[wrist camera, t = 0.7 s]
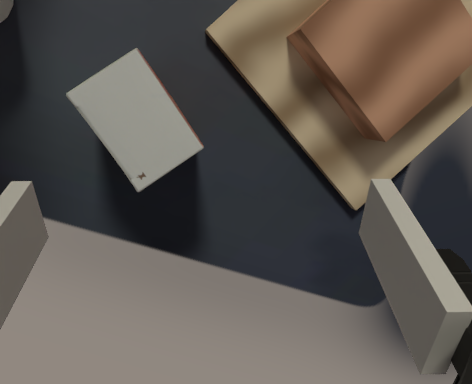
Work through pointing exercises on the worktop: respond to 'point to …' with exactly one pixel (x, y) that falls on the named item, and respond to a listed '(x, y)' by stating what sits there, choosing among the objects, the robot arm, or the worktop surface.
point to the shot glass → (5, 9)
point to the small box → (136, 119)
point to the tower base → (316, 106)
